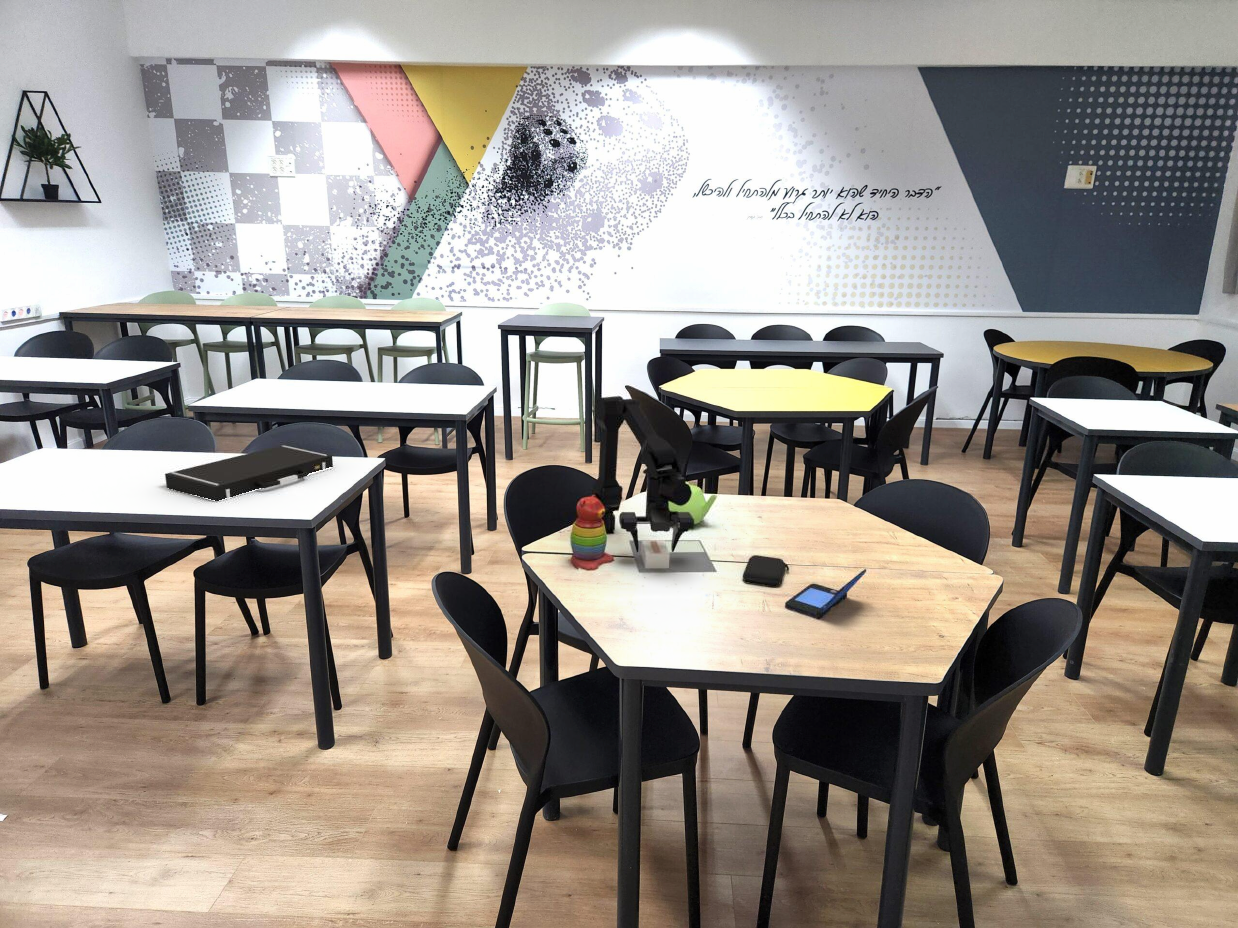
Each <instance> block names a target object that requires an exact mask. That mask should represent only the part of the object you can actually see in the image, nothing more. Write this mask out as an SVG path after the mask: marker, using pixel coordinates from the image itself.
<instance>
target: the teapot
mask: <svg viewBox="0 0 1238 928" xmlns="http://www.w3.org/2000/svg"><path fill="white" fill-rule="evenodd" d="M686 484H688V485H689V486H690V488H691V491H692V494H691V498H690V500H689V501H688V502H687V503H686V504H685V505H683V506H678V505H676V504H674V503H672V502H670V501H669V510H670V511H678V512H689V513H690V514H691V515H692V517H693V519H694V525H697V524H699V523H700V522H702V520H703V519H704V518H705V517H706V515H707V514H708V512H709V511H710V509H711V508H712V506H713V504H714V502H715V501H716V500H717V498H718V495H716V494H711V495H710V497H709V498H708V499H707V501H706V498H705V494H704V493H703V490H702V489H701V488H700V487H699V486H695V485H692V484H690V482H688V481H686Z"/></svg>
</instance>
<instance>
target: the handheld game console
mask: <svg viewBox="0 0 1238 928" xmlns="http://www.w3.org/2000/svg"><path fill="white" fill-rule="evenodd" d="M866 573H867V569H866V568H864V569H863V570H862V571H861V572H859V573H857V575H855V576H854V577H853V578H852V579H851V580H849V581H848V582H847V583H845V584H844V585H843V586H842V587H841V588H840V589H834V588H831V587H827V586H825V585H821V584H818V583H811V584H809V585H807V586H805V588H803V589H801V590H800V591H799V592H797V594H795V595H793V596H792V597H791V598H789V599H788V600H787V601H786V602H785V603H784V608H786V609H787V610H789V611H790V610H791V611H793V612H796V613H799V614H801V615H806V616H808V617H811V618H815V619H816V620H822V619H823V618H824V617H825V616H826V615H827V614H829V613H830V612H831V610H832V608H834V607H836V606H838V605H840V603H842V602H843V601H845V600H846V599H847V598H848V593H849V591H850V590H851V589H852V588H853V587H854V586H855V585H856V584H857V582H859V581H860V579H861V578H862V577H863V576H864V575H865V574H866Z"/></svg>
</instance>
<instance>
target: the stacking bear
mask: <svg viewBox="0 0 1238 928" xmlns="http://www.w3.org/2000/svg"><path fill="white" fill-rule="evenodd" d="M590 496H591V495H590ZM590 496H585V497H582V498H580V500H579V501H578V502H577V505H576V513H577V516H578V517H577V518H576V520H575V521H574V522H573V523H572V527H571V532H570V537H569V538H570V540H569V541H570V547H571V552H572V555H571V558H570V563H571V565H572V566H573V567H575V568H576V569H577V570H578V569H581V570H584V571H596V570H598V569H599V567H600V566H602V565H604V564H605V565H606V564H610V563H611V564H612V562H615V559H614V556H613V555H611V554H609V553H607V552H605V551H606V547H607V542H608V541H607V539H608V534H606V530H605V525H604V521H603V520H602V519H601V518H602V517H603V515H604V513H605V508H604V506H603V504H602V503H601V501H600V500H599V499H597V498H596V495H592V496H591V497H590Z"/></svg>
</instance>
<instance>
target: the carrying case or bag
mask: <svg viewBox="0 0 1238 928" xmlns="http://www.w3.org/2000/svg"><path fill="white" fill-rule="evenodd" d="M785 571H787V572H789V571H790V567H789V565H788V564H787V563H786V562H785V561H784V560H783V559H782V558H779V557H772V556H766V555H765V556H764V555H760V554H759V555H757V554H754V555H752V556H751V557H749V558H748V561H747V564H746V566H745V568H744V571H743V572H742V573H743V574H742V579H743V580H744V581H745V583H747V584H752V585H753V584H754V585H759V586H760V585H761V586H766V587H775V588H776V587H778V586H779V585H781V584H782V583H783V578H784V576H785Z"/></svg>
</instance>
